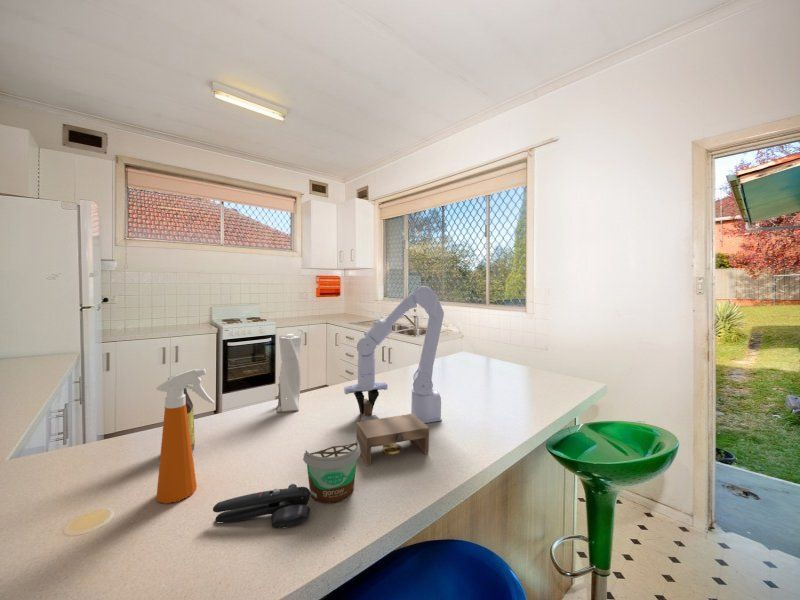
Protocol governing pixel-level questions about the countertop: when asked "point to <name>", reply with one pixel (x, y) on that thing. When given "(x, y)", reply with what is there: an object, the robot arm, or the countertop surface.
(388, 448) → the brass token
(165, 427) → the spray bottle
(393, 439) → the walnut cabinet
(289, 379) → the skyscraper
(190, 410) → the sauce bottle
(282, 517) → the can opener
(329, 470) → the food container
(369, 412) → the putty knife
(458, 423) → the countertop surface
